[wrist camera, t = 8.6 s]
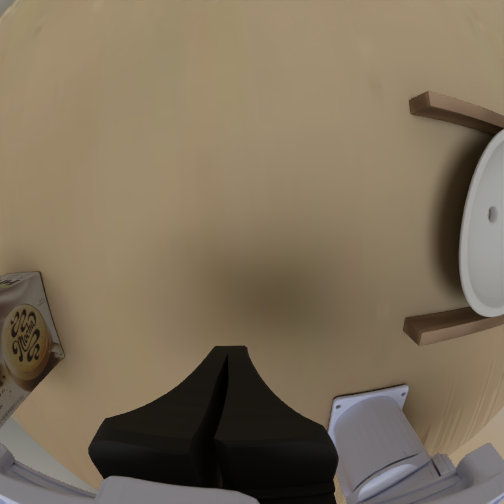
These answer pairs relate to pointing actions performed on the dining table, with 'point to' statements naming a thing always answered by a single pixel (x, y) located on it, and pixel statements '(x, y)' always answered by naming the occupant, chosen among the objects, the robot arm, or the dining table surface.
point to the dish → (484, 233)
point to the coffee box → (24, 339)
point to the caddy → (467, 319)
